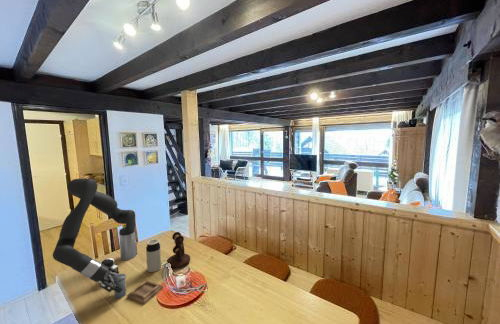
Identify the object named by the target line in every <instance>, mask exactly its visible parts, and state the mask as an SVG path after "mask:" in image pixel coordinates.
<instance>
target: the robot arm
mask: <svg viewBox="0 0 500 324" xmlns="http://www.w3.org/2000/svg"><path fill="white" fill-rule="evenodd" d="M97 189H98V182H97V180H95V179H93V178H73V179H71V180H70V181H69V182H68V183H67V191H68V192H69V194H71V195H72V196H74V197H75V198H78V199H79V201H78V203H77V204H76V206H75V207H74V208H73V209H72V210H71V212H69V214H68V215H67V216H66V217H65V219H64V221H63V223H62V226H61V229H60V232H59V235H58V236H59V237H58V240H57V243H56V245H55V248H54V250H53V252H52V258H53V260H55V261H56V262H58V263H60V264H63V265H65V266H67V267H70V268H71V269H72V270H74V271H75V272H77V273H79V274H81V275H82V276H84V277H86V278H87V279H89V280H91V281H93V282H95V283H98V281H101V282H102V283H100V284H99V287H100V288H101V289H103V290H105V291H106V292H108V293H111V292H112V291H114V292H115V291H116V292H118V293H120V292H121V291H122V288H121V287H119V286H117V285H116V284H115V283H114V282H115V281H114V280H113V279H114V277H115V276H116V275H118V274H120V271H119V270H118V271H117V270H115V269H113V268H111V267H107V266H106V265H104V264H102V263H101V262H100V261H98V260H97V259H94V258H92V257H90V256H89V255H87V254H85V253H82V252H80V251H79V250H77V249H76V248H74V247H75V244H76V239H77V237H78V235H79V233H80V230H81V226H82V223H83V220H84V218H85V215H86V214H87V211H88V209H89V208H90V205H91V206H92V207H94V208H95V209H97V210H98V211H100V212H101V213H104V214H105V215H106V216H109V217H110V218H111V219H112V220H113V221H114V222H116V223H117V224H121V225H125V227H122V228H120V229H119V230H118V231H119V232H118V234H119V235H118V236H119V249H120V250H119V251H120V260H122V261H128V260H132V259H133V258H135V257H136V256H137V255H138V243H137V241H136V233H135V231H136V230H135V229H136V212H135V211H134V210H132V209H120V208H118V202H117V200H116V199H115V198H113V197H112V196H110V195H108V194H107V193H103V192H101V191H98V190H97ZM114 272H116V273H114Z"/></svg>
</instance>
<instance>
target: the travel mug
mask: <svg viewBox="0 0 500 324" xmlns="http://www.w3.org/2000/svg"><path fill="white" fill-rule="evenodd" d="M145 243H146V247H145V250H146V251H145V252H146V270H147V272H149V273H154V272H157V271H159V270H160V269H161V268H162V258H161V244H160V239H159V238H152V239H149V240H147V241H146V242H145Z"/></svg>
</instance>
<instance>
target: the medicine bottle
mask: <svg viewBox="0 0 500 324" xmlns="http://www.w3.org/2000/svg"><path fill="white" fill-rule="evenodd" d="M100 263H102V264H104V265H106V266H107V267H111V268H113V269H115V270H117V271H119V265H116V264H115V259H114V258H111V257H109V258H105V259H103V260H102V261H101V262H100ZM114 273H116V272H114ZM97 283H98V284H102V282H101V281H98V282H97Z"/></svg>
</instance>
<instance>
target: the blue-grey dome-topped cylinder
mask: <svg viewBox="0 0 500 324" xmlns="http://www.w3.org/2000/svg"><path fill="white" fill-rule="evenodd" d="M126 277H127V275H126V273H119V274H118V275H116V276H115V277H114V279H113V280H114V281H115V282H114V283H115V284H116V285H117V286H119V287H121V288H122V291H121V292H120V293H118V292H116V291H114V298H115V299H122V298H124V297H125V296H127V287H126V283H127V282H126V279H127V278H126Z"/></svg>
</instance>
